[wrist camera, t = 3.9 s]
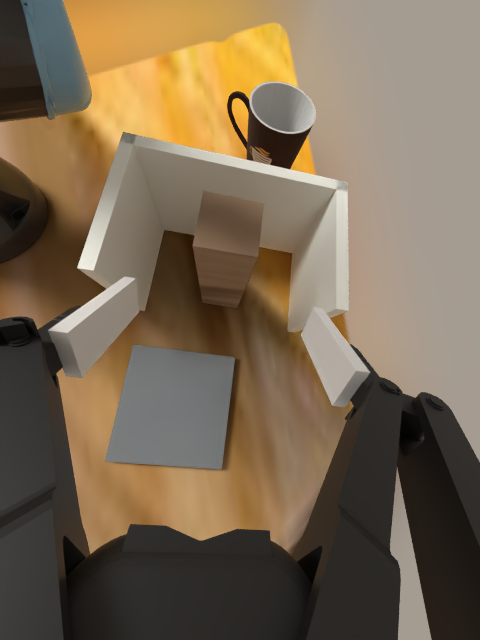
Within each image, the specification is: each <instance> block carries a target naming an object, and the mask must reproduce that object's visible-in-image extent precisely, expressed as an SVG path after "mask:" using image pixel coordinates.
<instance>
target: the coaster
mask: <svg viewBox="0 0 480 640" xmlns="http://www.w3.org/2000/svg"><path fill="white" fill-rule="evenodd" d="M234 363H235V357H229V356H221V355H213V354H205V353H197V352H189V351H181V350H173V349H165V348H157V347H149V346H141V345H133V347H132V351H131V356H130V360H129V364H128V368H127V372H126V376H125V380H124V384H123V389H122V393H121V397H120V401H119V405H118V409H117V413H116V418H115V422H114V426H113V430H112V434H111V438H110V442H109V446H108V451H107V455H106V459H105V461H106V462H121V463H135V464H150V465H164V466H179V467H194V468H208V469H222V463H223V455H224V447H225V438H226V430H227V421H228V413H229V405H230V396H231V388H232V380H233V371H234Z"/></svg>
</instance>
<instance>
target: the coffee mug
mask: <svg viewBox="0 0 480 640" xmlns="http://www.w3.org/2000/svg"><path fill="white" fill-rule="evenodd" d="M235 98H239V99H241V100H242V101H243V102H244V103H245V105H246V107H247V109H248V112H249V119H248V140H247V141H246V139H245V138H244V136H243V135H242V133H241V131H240V129H239V128H238V126H237V124H236V122H235V119H234V116H233V113H232V101H233V99H235ZM227 109H228V114H229V117H230V120H231V122H232V125H233V127H234V129H235V131H236V133H237V134H238V136H239V138H240V139H241V141H242V143H243V144H244V146H245V148H246V149H247V160H250V161H254V162H259V163H263V164H268V165H272V166H277V167H281V168H285V169H290V168H291V166H292V164H293V162H294V160H295V158H296V156H297V155H298V153H299V151H300V149H301V147H302V145H303V143H304V141H305V139H306V137H307V135H308V134H309V132H310V130H311V128H312V126H313V124H314V122H315V119H316V109H315V106H314V104H313V102H312V101H311V99H310V98H309V97H308V96H307V95H306V94H305V93H304V92H303V91H301V90H300V89H299V88H297V87H295V86H293V85H290V84H288V83H284V82H277V81H272V82H265V83H262V84H260V85H258V86H257V87H255V88H254V90H253V91H252V92H251V95H250V100H249V99H248V98H247V97H246V95H245V94H244V93H242V92H239V91H236V92H233V93H232V94H231V95H230V96H229V99H228V103H227Z"/></svg>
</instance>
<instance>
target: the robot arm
mask: <svg viewBox="0 0 480 640" xmlns="http://www.w3.org/2000/svg"><path fill="white" fill-rule="evenodd" d="M91 97H92V92H91V86H90V82H89V79H88V76H87V73H86V69H85V66H84V63H83V60H82V57H81V54H80V51H79V48H78V45H77V42H76V39H75V35H74V33H73V29H72V26H71V23H70V21H69V18H68V15H67V11H66V8H65V6H64V2H63V0H0V122H6V121H14V120H22V119H30V118H38V117H46V116H47V118H48V119H49V120H52V119H55V116H56V115H61V114H67V113H72V112H78V111H82V110H84V109H86V108H87V107H88V106H89V104H90V102H91ZM47 216H48V207H47V203H46V200H45V197H44V195H43V194H42V192H41V191H40V189H39V188H38V187H37V186H36V185H35V184H34V183H33V182H32V181H31V180H30V179H29V178H28V177H27V176H26V175H25V174H24V173H23V172H22V171H20V170H19V169H18V168H17V167H15V166H14V165H12V164H11V163H9V162H7V161H6V160H4V159H3V158H1V157H0V263H1V262H4V261H6V260H9V259H11V258H13V257H15V256H17V255H19V254H20V253H22V252H23V251H25V250H26V249H27V248H29V247H30V246H31V245H32V244H33V243H34V242H35V241H36V240H37V239H38V237H39V236H40V234H41V233H42V231H43V229H44V227H45V225H46V221H47ZM138 313H139V305H138V295H137V285H136V278H130V277H123V278H122V279H120V280H119V281H118V282H116V283H115V284H113V285H112V286H110V287H109V288H108V289H106V290H105V291H103V292H102V293H100V294H99V295H98V296H96V297H95V298H93V299H92V300H90V301H89V302H88V303H86V304H85V305H83V306H77V307H74V308H71V309H68V310H67V311H65V312H64V313H62V314H61V316H58V317H56V318H55V320H52V321H50V322H49V323H47V324H46V325H44V326H43V327H41V328H40V329H38V330H37V327H36V325H35V323H34V321H33V319H31V318H28V317H11V318H6V319H2V320H0V640H398V622H399V602H400V582H401V579H400V568H399V565H398V561H397V560H396V559H395V558H394V557H393V556H392V555H391V552H390V537H391V526H392V515H393V503H394V492H395V481H396V470H397V468H398V473H399V478H400V482H401V488H402V493H403V498H404V503H405V508H406V513H407V518H408V523H409V528H410V533H411V538H412V543H413V548H414V553H415V558H416V563H417V568H418V573H419V578H420V583H421V588H422V593H423V598H424V603H425V608H426V613H427V618H428V624H429V628H430V633H431V638H432V640H480V462H479V460H478V459H477V457H476V455H475V453H474V451H473V449H472V448H471V446H470V444H469V442H468V440H467V438H466V437H465V435H464V433H463V431H462V429H461V427H460V425H459V424H458V422H457V420H456V418H455V416H454V414H453V412H452V411H451V409H450V408H449V407H448V406H447V405H446V404H445V403H444V402H443V401H442V400H441V399H439V398H438V397H436V396H433V395H431V394H428V393H425V392H421V393H420V394H419V395H418V396H417V397H416V398H414V397H411V396H408V395H405V394H403V393H402V391H401V389H399V387H398V386H397V385H396V384H394V383H393V382H391V381H389V380H387V379H385V378H381V377H379V376H378V374H377V373H376V372H375V371H374V369H373V368H372V367H371V366H370V364H369V363H368V362H367V360H366V359H365V358H364V357H363V355H362V354H361V353H360V351H359V350H358V349H357V348H355V347H354V346H353V345H351V344H349V343H348V342H347V341H346V339H345V338H344V337H343V335H342V334H341V333H340V331H339V330H338V329H337V327H336V326H335V325H334V323H333V322H332V321H331V319H330V318H329V317H328V315H327V314H326V313H325V311H324V310H323V309H322V308H317V307H313V308H312V310H311V312H310V315H309V317H308V320H307V322H306V324H305V327H304V329H303V332H302V334H301V337H302V339H303V341H304V344H305V346H306V348H307V350H308V352H309V355H310V357H311V359H312V361H313V364H314V366H315V368H316V370H317V373H318V375H319V377H320V379H321V381H322V384H323V386H324V388H325V390H326V393H327V395H328V397H329V399H330V401H331V404H332V406H339V407H346V406H347V404H348V403H349V401H350V400H351V402H352V404H353V405H354V407H353V408H352V409H351V411H350V412H349V413H348V415H347V416H346V417H345V419H346V420H347V422H346V424H345V427H344V430H343V432H342V435H341V437H340V440H339V443H338V445H337V448H336V451H335V453H334V456H333V458H332V461H331V464H330V466H329V469H328V472H327V474H326V477H325V480H324V482H323V485H322V487H321V490H320V493H319V495H318V498H317V501H316V503H315V506H314V508H313V511H312V514H311V516H310V519H309V522H308V524H307V527H306V529H305V532H304V534H303V536H302V537H301V539H300V541H299V542H298V544H297V546H296V548H295V550H294V552H293V554H292V556H291V555H290V554H289V553H288V552H287V551H285V550H284V549H283V548H282V547H281V546H279V545H277V544H276V543H274V542H272V541H270V531H267V530H245V529H236V530H233V531H230V532H227V533H224V534H221V535H218V536H215V537H212V538H209V539H206V540H203V541H199V540H196V539H194V538H192V537H190V536H187V535H185V534H183V533H181V532H179V531H176V530H174V529H172V528H170V527H167V526H157V525H136V524H130V526H129V529H128V532H127V534H126V535H123V536H120V537H118V538H115V539H113V540H111V541H109V542H108V543H106V544H104V545H103V546H101V547H100V548H98V549H97V550H96V551H94V552H93V553H92V554H90V551H89V546H88V542H87V538H86V534H85V531H84V528H83V525H82V521H81V516H80V510H79V504H78V497H77V491H76V485H75V479H74V473H73V467H72V461H71V454H70V448H69V442H68V436H67V430H66V424H65V418H64V412H63V405H62V399H61V393H60V387H59V381H58V377H57V375H56V373H57V372H58V371H59V370H60V369H61V368H63V370H64V373H65V375H66V376H69V377H78V378H83V377H84V375H85V374H86V373H87V372H88V371H89V370H90V369H91V367H92V366H93V365H94V364H95V363H96V362H97V360H98V359H99V358H100V357H101V356H102V355H103V353H104V352H105V351H106V350H107V349H108V348H109V346H110V345H111V344H112V343H113V342H114V341H115V339H116V338H117V337H118V336H119V335H120V334H121V333H122V331H123V330H124V329H125V328H126V327H127V326H128V324H129V323H130V322H131V321H132V320H133V319H134V317H135V316H136V315H137V314H138Z"/></svg>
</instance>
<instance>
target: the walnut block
mask: <svg viewBox="0 0 480 640" xmlns="http://www.w3.org/2000/svg"><path fill="white" fill-rule="evenodd" d="M263 208H264V203H260V202H255V201H251V200H246V199H241V198H236V197H231V196H226V195H221V194H216V193H211V192H207V191H203V195H202V200H201V205H200V210H199V215H198V220H197V225H196V230H195V236H194V241H193V251H194V257H195V263H196V268H197V274H198V280H199V286H200V291H201V297H202V303H207V304H214V305H220V306H227V307H234V308H237V307H238V305H239V303H240V300H241V298H242V295H243V293H244V291H245V288H246V286H247V283H248V281H249V278H250V276H251V274H252V271H253V269H254V266H255V264H256V262H257V259H258V255H259V246H260V236H261V227H262V217H263Z"/></svg>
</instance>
